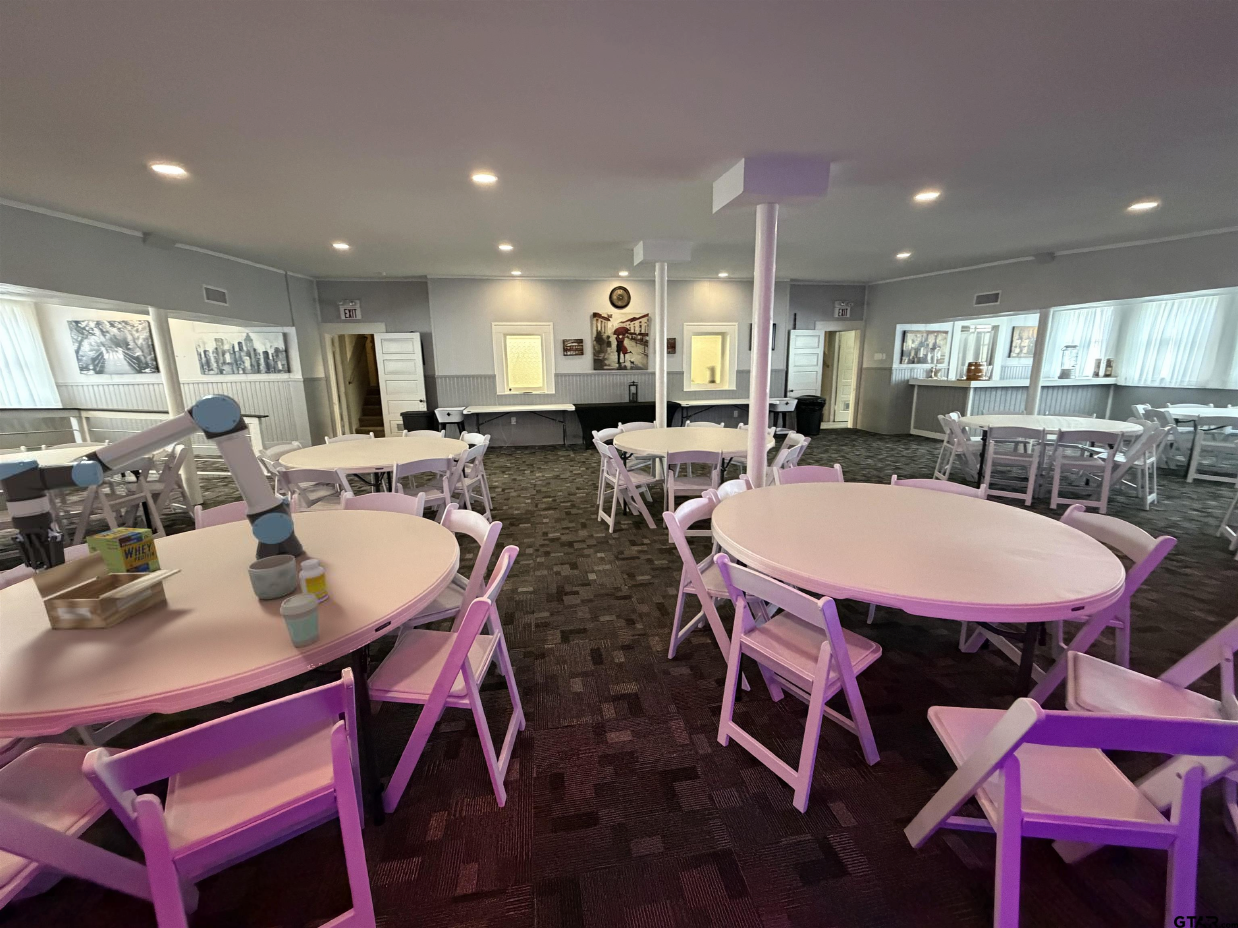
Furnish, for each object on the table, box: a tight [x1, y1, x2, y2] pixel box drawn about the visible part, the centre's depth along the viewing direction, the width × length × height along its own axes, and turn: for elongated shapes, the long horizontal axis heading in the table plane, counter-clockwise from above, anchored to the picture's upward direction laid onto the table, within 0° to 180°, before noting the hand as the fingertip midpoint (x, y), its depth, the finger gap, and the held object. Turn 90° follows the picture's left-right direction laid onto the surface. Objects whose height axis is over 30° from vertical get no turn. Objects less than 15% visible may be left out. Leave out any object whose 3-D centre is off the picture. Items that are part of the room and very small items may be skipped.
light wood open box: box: [43, 569, 182, 631], centre depth 144 cm, size 23×18×10 cm
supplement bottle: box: [298, 558, 329, 604], centre depth 148 cm, size 7×7×13 cm
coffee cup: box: [279, 593, 320, 648], centre depth 126 cm, size 8×8×12 cm
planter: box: [247, 555, 298, 600], centre depth 154 cm, size 12×12×11 cm
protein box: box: [85, 527, 161, 578], centre depth 173 cm, size 10×15×16 cm
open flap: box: [31, 551, 109, 599], centre depth 142 cm, size 7×17×7 cm
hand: (52, 588), depth 142 cm, fingers closed on open flap, 2 cm apart
